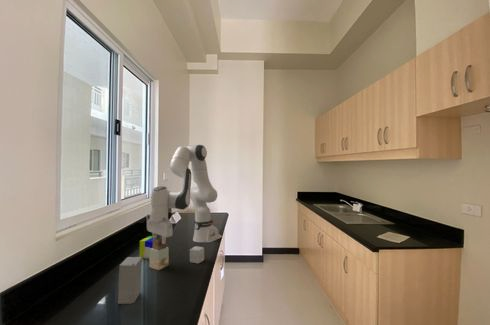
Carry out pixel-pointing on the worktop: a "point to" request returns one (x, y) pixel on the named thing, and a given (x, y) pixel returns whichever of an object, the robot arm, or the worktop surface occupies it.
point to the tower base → (159, 263)
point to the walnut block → (158, 244)
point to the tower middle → (158, 253)
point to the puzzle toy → (146, 246)
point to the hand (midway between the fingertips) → (159, 242)
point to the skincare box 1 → (129, 280)
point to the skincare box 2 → (196, 254)
